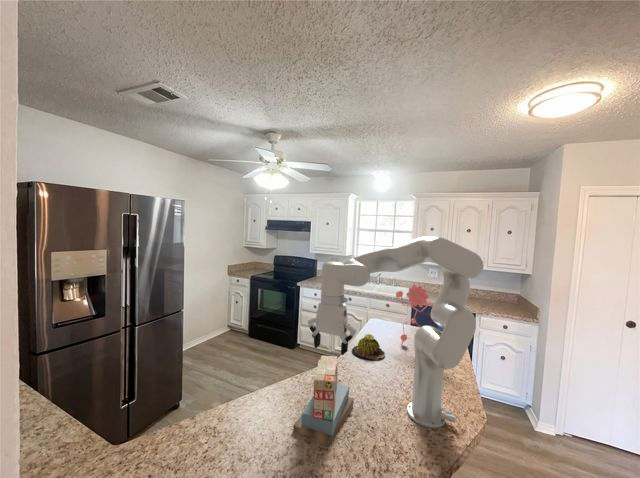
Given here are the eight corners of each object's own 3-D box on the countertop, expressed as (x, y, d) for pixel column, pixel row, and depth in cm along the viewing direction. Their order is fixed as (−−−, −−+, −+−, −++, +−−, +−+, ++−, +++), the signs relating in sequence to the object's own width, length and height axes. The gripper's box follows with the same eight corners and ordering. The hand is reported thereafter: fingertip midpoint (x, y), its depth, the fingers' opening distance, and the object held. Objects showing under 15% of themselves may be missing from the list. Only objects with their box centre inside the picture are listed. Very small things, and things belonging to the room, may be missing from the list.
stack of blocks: (321, 378, 101) (321, 347, 101) (337, 380, 101) (338, 348, 100) (313, 418, 80) (313, 379, 80) (333, 420, 79) (334, 380, 79)
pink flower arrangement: (431, 358, 138) (436, 291, 137) (387, 341, 157) (391, 282, 155) (442, 349, 149) (447, 288, 147) (400, 334, 167) (404, 279, 166)
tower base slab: (352, 409, 97) (353, 398, 97) (327, 453, 77) (328, 440, 77) (323, 398, 102) (324, 388, 102) (292, 437, 83) (293, 424, 83)
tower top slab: (348, 396, 98) (349, 386, 98) (332, 436, 79) (332, 423, 79) (323, 389, 101) (323, 379, 101) (301, 425, 82) (302, 413, 82)
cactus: (350, 357, 135) (351, 338, 134) (353, 344, 150) (354, 327, 150) (384, 363, 131) (386, 343, 130) (384, 349, 146) (386, 331, 146)
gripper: (360, 300, 87) (358, 351, 88) (314, 293, 95) (312, 339, 96) (353, 306, 80) (350, 361, 81) (303, 297, 88) (302, 348, 89)
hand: (330, 349), depth 89 cm, fingers open, 9 cm apart
